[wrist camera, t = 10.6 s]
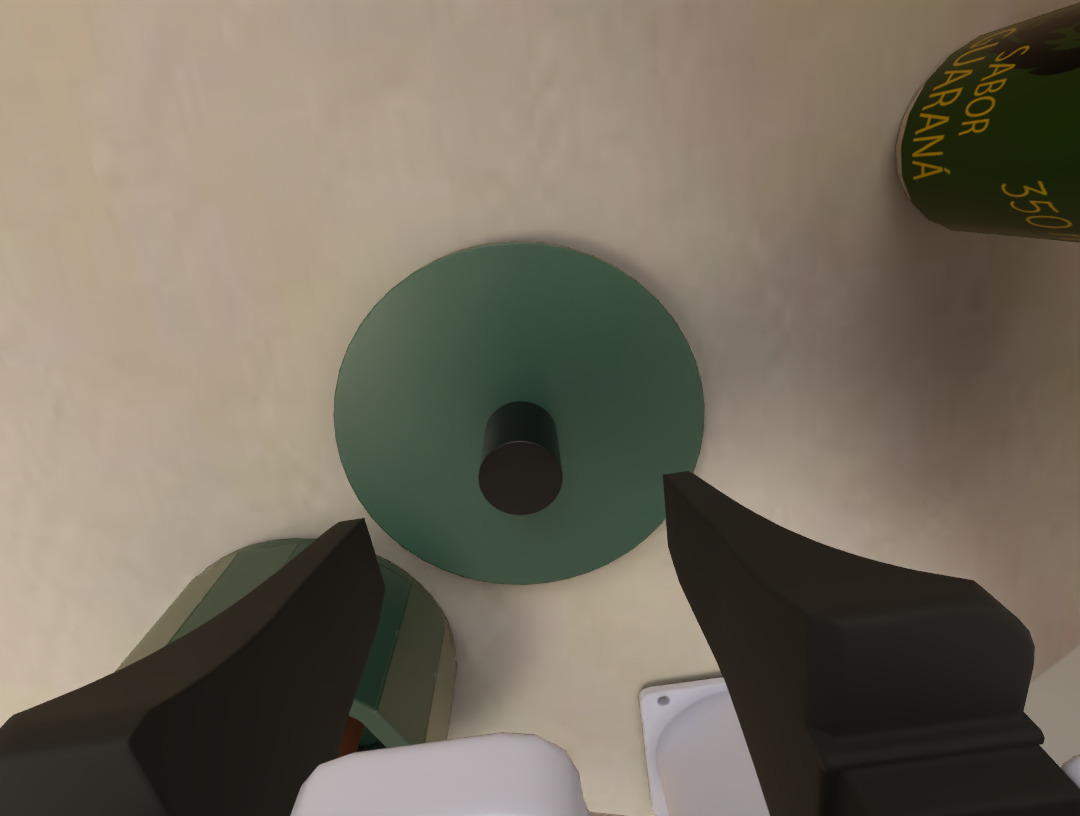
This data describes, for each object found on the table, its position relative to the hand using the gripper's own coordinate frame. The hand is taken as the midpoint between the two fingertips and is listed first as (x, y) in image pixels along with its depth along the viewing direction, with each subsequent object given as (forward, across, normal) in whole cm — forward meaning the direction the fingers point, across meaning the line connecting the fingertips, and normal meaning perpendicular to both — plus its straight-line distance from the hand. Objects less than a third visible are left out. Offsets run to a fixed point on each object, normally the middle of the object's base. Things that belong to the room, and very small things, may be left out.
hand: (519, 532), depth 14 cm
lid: (+6, 0, 0) cm, 6 cm away
